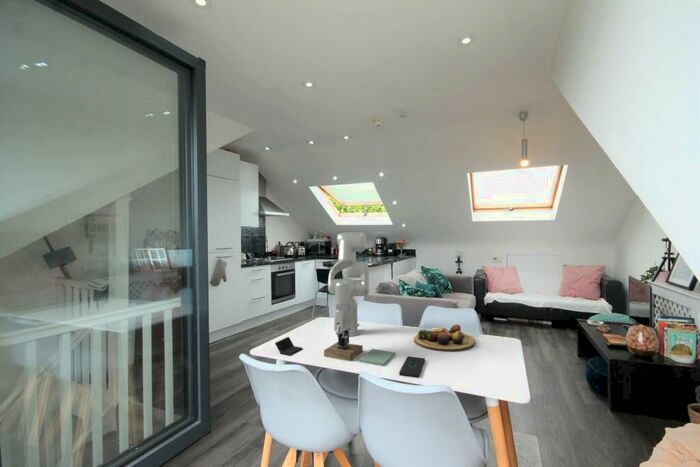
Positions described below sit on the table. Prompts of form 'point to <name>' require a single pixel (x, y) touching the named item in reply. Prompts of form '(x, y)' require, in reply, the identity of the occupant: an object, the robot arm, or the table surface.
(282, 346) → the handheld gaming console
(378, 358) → the mat
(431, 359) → the table surface
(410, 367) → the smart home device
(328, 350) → the wooden block with hole
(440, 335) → the wooden plate with food
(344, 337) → the plug
